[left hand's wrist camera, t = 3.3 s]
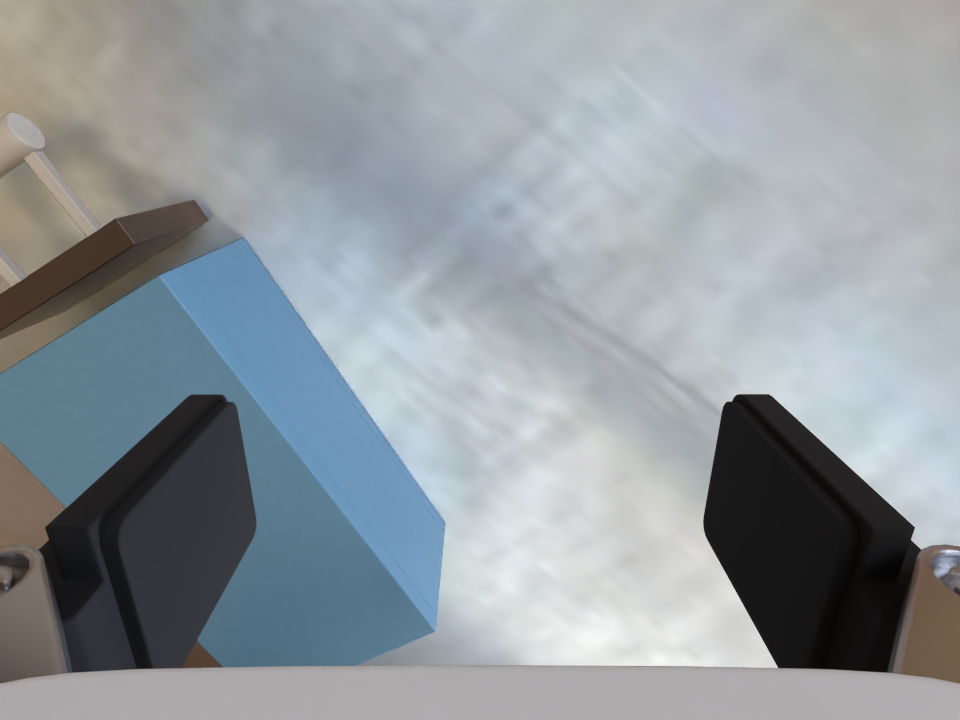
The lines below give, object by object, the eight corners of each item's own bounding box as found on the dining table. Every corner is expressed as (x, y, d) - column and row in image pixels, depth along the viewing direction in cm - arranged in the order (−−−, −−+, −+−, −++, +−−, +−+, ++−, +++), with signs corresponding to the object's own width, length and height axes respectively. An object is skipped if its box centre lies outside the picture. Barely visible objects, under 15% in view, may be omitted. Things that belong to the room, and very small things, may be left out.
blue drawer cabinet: (87, 333, 33) (-43, 399, 25) (244, 236, 31) (159, 274, 23) (306, 588, 40) (260, 706, 32) (445, 523, 38) (436, 631, 30)
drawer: (-35, 196, 29) (-177, 213, 23) (115, 89, 28) (6, 77, 21) (273, 554, 38) (231, 639, 31) (403, 490, 36) (387, 567, 30)
